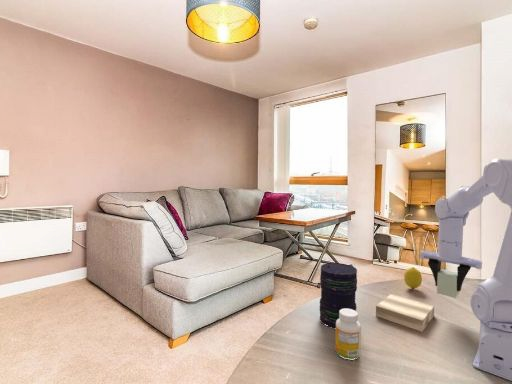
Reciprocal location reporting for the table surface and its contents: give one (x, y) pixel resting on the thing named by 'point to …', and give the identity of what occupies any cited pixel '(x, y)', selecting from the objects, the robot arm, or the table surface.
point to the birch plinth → (405, 312)
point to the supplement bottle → (348, 334)
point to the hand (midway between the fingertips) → (448, 287)
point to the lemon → (413, 278)
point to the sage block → (447, 283)
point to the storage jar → (336, 291)
